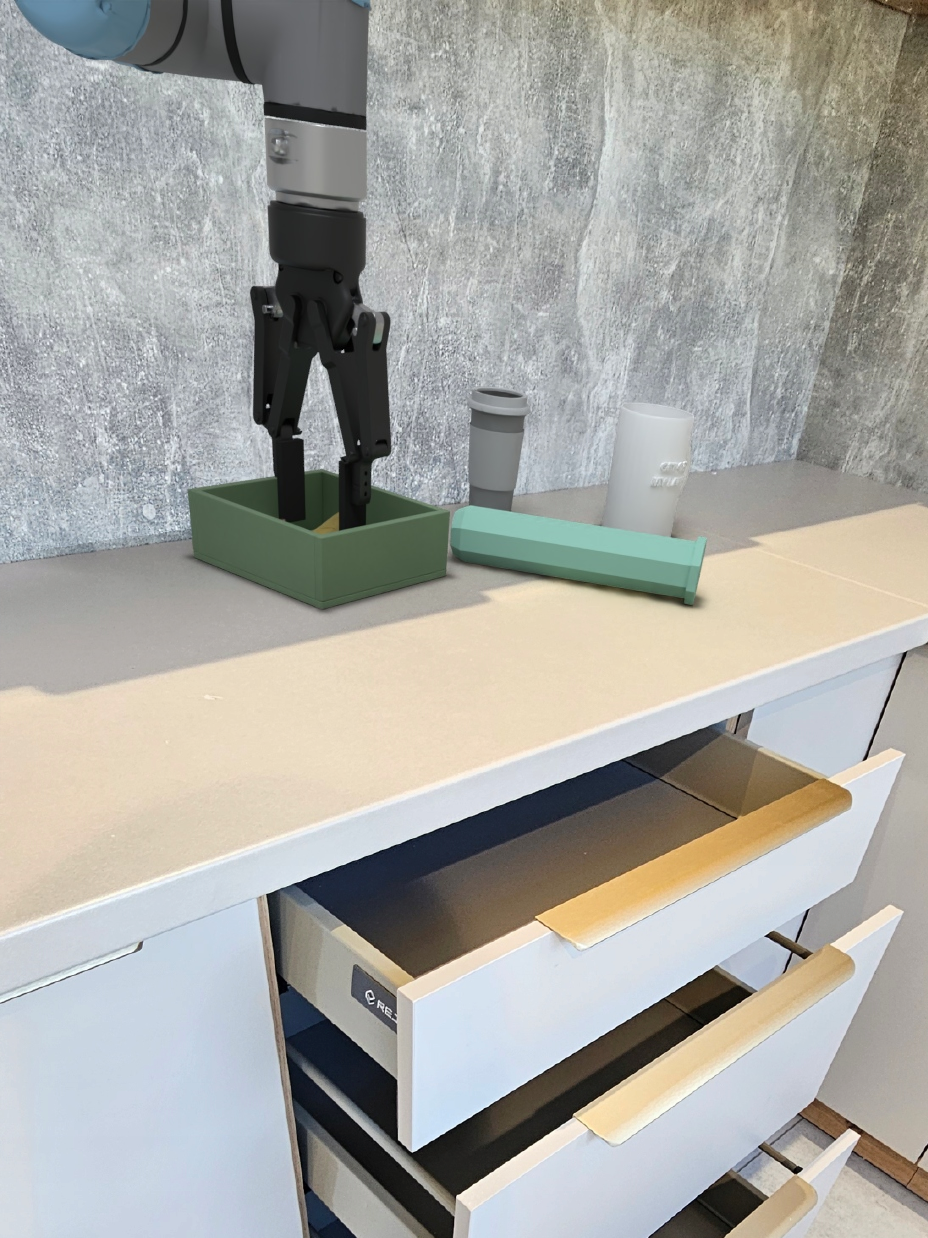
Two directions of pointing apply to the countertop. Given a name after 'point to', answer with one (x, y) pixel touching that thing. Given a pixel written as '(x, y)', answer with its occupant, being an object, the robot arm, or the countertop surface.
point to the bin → (318, 540)
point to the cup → (495, 445)
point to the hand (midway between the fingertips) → (321, 531)
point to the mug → (648, 468)
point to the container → (578, 551)
